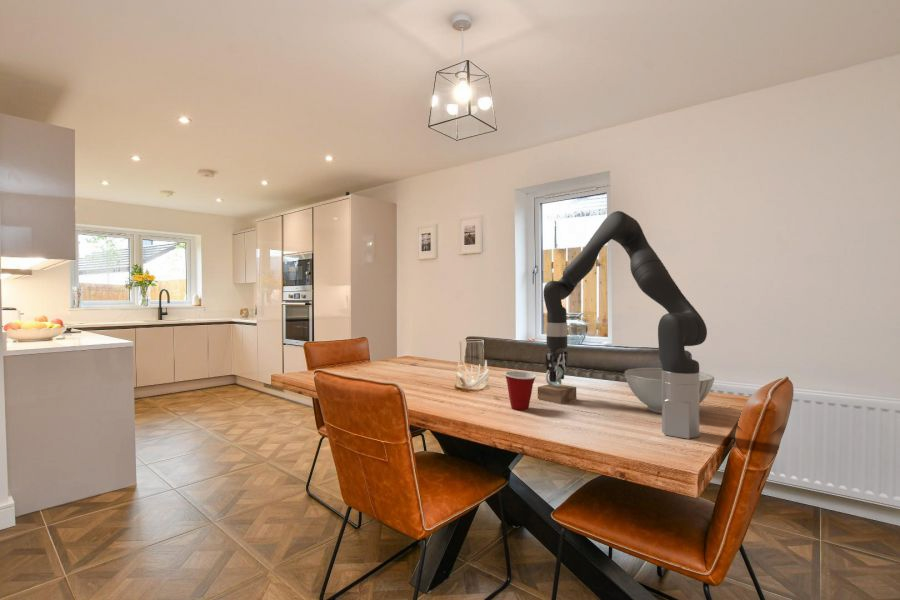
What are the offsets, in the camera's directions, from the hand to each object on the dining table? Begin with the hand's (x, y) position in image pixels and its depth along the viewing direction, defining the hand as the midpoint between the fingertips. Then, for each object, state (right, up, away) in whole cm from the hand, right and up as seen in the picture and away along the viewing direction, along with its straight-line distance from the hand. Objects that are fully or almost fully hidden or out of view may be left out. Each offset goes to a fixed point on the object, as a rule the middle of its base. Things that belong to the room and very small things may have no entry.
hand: (557, 380), depth 166 cm
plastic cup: (-16, -8, -13) cm, 22 cm away
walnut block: (0, -8, 0) cm, 8 cm away
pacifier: (-1, +1, +2) cm, 2 cm away
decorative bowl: (+33, -7, -16) cm, 38 cm away
